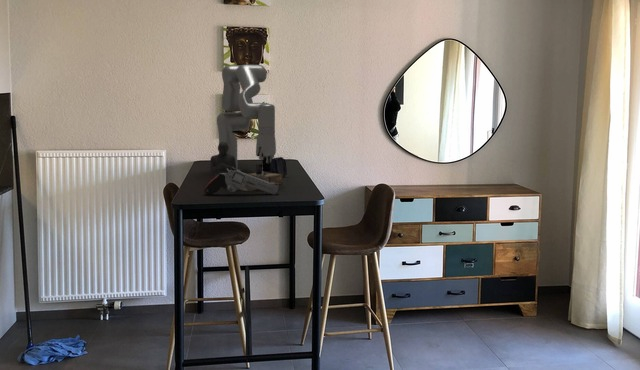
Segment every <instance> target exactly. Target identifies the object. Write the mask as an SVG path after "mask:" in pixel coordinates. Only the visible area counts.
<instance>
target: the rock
mask: <svg viewBox="0 0 640 370" xmlns="http://www.w3.org/2000/svg"><path fill="white" fill-rule="evenodd" d="M267 173H273V174H282V178H285V177H286V176H287V174H288V170H287V162H286V159H285V158H284V157H282V156H278V157H274V158H272V159H271V163H270V172H267Z"/></svg>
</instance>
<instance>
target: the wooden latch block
mask: <svg viewBox="0 0 640 370" xmlns="http://www.w3.org/2000/svg"><path fill="white" fill-rule="evenodd" d="M247 174H248V175H251V176H253V177H256V178H258V179H261V180H264V181H266V182H269V183H278V184H279V185H283V177H282V174H273V173H268V172H266V174H264V175H263V176H256V172H251V173H247ZM243 177H244V176H243ZM232 180H233V179H232ZM241 182H242V181H241ZM231 188H232V190H235V189H236V188H237V186H235V185H233V184H232V186H231ZM228 189H230V185H228ZM230 190H231V189H230ZM256 190H258V189H257V188H255V187H252V186H249V185H245V186H244V188H243V189H242V188H238V189H237V191H243V192H244V191H245V192H251V191H256Z"/></svg>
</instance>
